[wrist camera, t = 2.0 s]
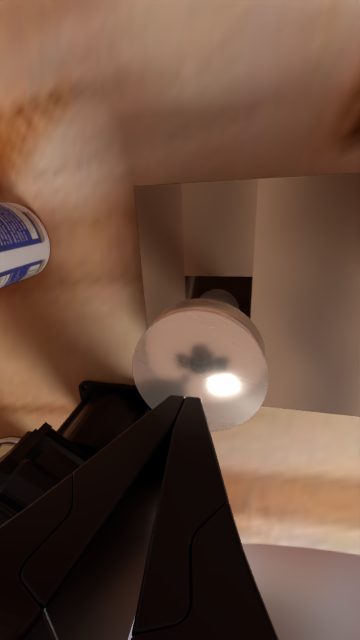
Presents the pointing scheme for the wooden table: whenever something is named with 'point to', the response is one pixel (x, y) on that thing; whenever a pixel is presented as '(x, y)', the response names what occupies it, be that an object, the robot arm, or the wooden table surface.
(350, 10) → the wooden table surface
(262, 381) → the plunger
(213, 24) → the wooden table surface
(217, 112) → the wooden table surface
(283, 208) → the block
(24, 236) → the pill bottle
